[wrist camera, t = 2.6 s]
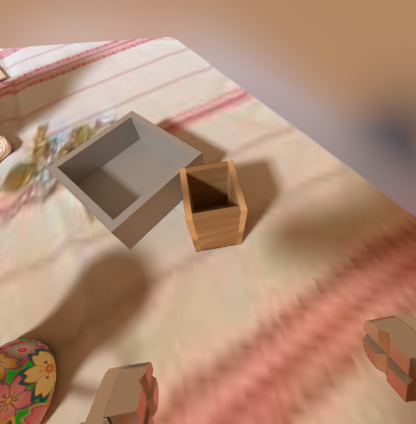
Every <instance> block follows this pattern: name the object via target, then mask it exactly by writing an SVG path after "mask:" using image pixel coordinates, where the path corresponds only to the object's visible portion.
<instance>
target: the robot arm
mask: <svg viewBox="0 0 416 424" xmlns="http://www.w3.org/2000/svg"><path fill="white" fill-rule="evenodd" d="M364 330H365V332H366V333H367V335H366V336H365V337H364V339H363V347H364V349H365V352H366V355H367V356H368V358H369V360H370V361H371V362H372V364H373V365H374V366H375V367H376V368H377V369H379V370H380V371H382V372H384V373H386V376H387V381H388V382H389V384H390V385H391V386H392V387H393V388H394V389H395V390H396V392H397V393H398V394H399V395H400V396H401V397H402V399H403V400H404V401H405V402H409V401H415V400H416V318H414V317H413V316H412V315H409V314H407V313H405V314H399V315H394V316H388V317H383V318H378V319H373V320H369V321H366V322H365V323H364ZM152 374H153V367H152V364H151V362H147V363H141V364H134V365H128V366H123V367H117V368H111V369H109V370H108V371H107V372H106V373H105V376H104V378H103V380H102V383H101V385H100V388H99V390H98V393H97V395H96V398H95V400H94V402H93V405H92V407H91V410H90V412H89V415H88V417H87V420H86V422H83V423H80V424H154V422H153V419H152V417H153V416H154V414H155V413H156V411H157V407H158V384H157V380H156V378H155V377H153V376H152Z"/></svg>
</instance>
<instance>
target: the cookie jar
mask: <svg viewBox="0 0 416 424" xmlns="http://www.w3.org/2000/svg"><path fill="white" fill-rule="evenodd" d="M10 152H11V146H10V144H9V142H8V140H7V139H6V138H5V137H4V136H2V135H0V161H1V160H3V159H4V158H5V157H6V156H7V155H8V154H9V153H10Z"/></svg>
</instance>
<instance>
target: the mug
mask: <svg viewBox="0 0 416 424" xmlns="http://www.w3.org/2000/svg"><path fill="white" fill-rule="evenodd" d="M55 384H56V364H55V360H54V357H53V355H52V353H51V351H50V349H49V348H48V347H47V346H46V345H45V344H43V343H42V342H40V341H38V340H35V339H29V338H25V339H18V340H14V341H11V342H9V343H7V344H5V345H3V346H1V347H0V424H40V422H41V420H42V419H43V417H44V415H45V413H46V412H47V409H48V407H49V405H50V402H51V400H52V397H53V393H54V389H55Z"/></svg>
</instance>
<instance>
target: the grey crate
mask: <svg viewBox="0 0 416 424" xmlns="http://www.w3.org/2000/svg"><path fill="white" fill-rule="evenodd" d="M201 165H203V157H202V152H200V151H199V150H197V149H195V148H193V147H192V146H190V145H188V144H187V143H185V142H183V141H182V140H180V139H178V138H177V137H175V136H173V135H172V134H170V133H168V132H166V131H165V130H163V129H161V128H160V127H158V126H156V125H155V124H153V123H151V122H150V121H148V120H146V119H145V118H143V117H141V116H140V115H138V114H136V113H134V112H133V111H131V112H130V113H128V114H127V115H125V116H124V117H122V118H121V119H119V120H118V121H116V122H115V123H113V124H112V125H110V126H109V127H107V128H106V129H104V130H103V131H101V132H100V133H98V134H97V135H95V136H94V137H92V138H91V139H89V140H88V141H86V142H85V143H83V144H82V145H80V146H79V147H77V148H76V149H74V150H73V151H71V152H70V153H68V154H67V155H65V156H64V157H62V158H61V159H59V160H58V161H56V162H55V163H53V164H52V165H50V166H49V167H47V169H48V170H49V171H50V172H51V173H52V174H53V175H54V176H55V177H56V178H57V179H58V180H59V181H60V182H61V183H62V184H63V185H64V186H65V187H66V188H67V189H68V190H69V191H70V192H71V193H72V194H73V195H74V196H75V197H76V198H77V199H78V200H79V201H80V202H81V203H82V204H83V205H84V206H85V207H86V208H87V209H88V210H89V211H90V212H91V213H92V214H93V215H94V216H95V217H96V218H97V219H98V220H99V221H100V222H101V223H102V224H103V225H104V226H106V227H107V228H108V229H109V230H110V231H111V232H112V233H113V234H114V235H115V236H116V237H117V238H118V239H119V240H120V241H121V242H123V243H124V244H125V245H126V246H127V247H128V248H129V249H131V248H132V247H133V246H134V245H135V244H136V243H137V242H138V241H139V240H140V239H141V238H142V237H143V236H144V235H145V234H146V233H147V232H149V231H150V230H151V229H152V228H153V227H154V226H155V225H156V224H157V223H158V222H159V221H160V220H161V219H162V218H163V217H164V216H165V215H166V214H168V213H169V212H170V211H171V210H172V209H173V208H174V207H175V206H176V205H177V204H178V203H179V202H180V201H181V200H182V199H183V194H182V186H181V178H180V170H179V169H183V168H189V167H195V166H201Z"/></svg>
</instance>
